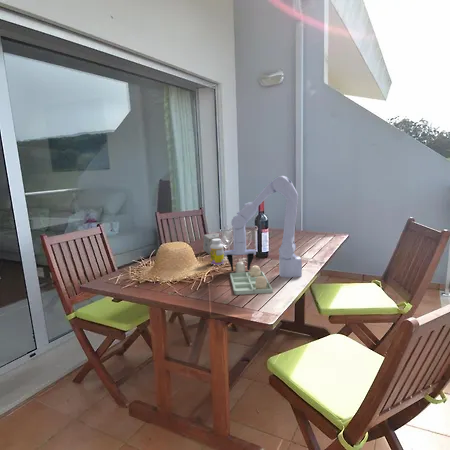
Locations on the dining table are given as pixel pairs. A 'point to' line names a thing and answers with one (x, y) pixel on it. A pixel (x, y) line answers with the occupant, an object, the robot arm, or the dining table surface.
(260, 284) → the tan egg
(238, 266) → the cream egg
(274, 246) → the dining table surface
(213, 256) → the supplement bottle
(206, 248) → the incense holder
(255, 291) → the egg tray
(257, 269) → the tan egg
